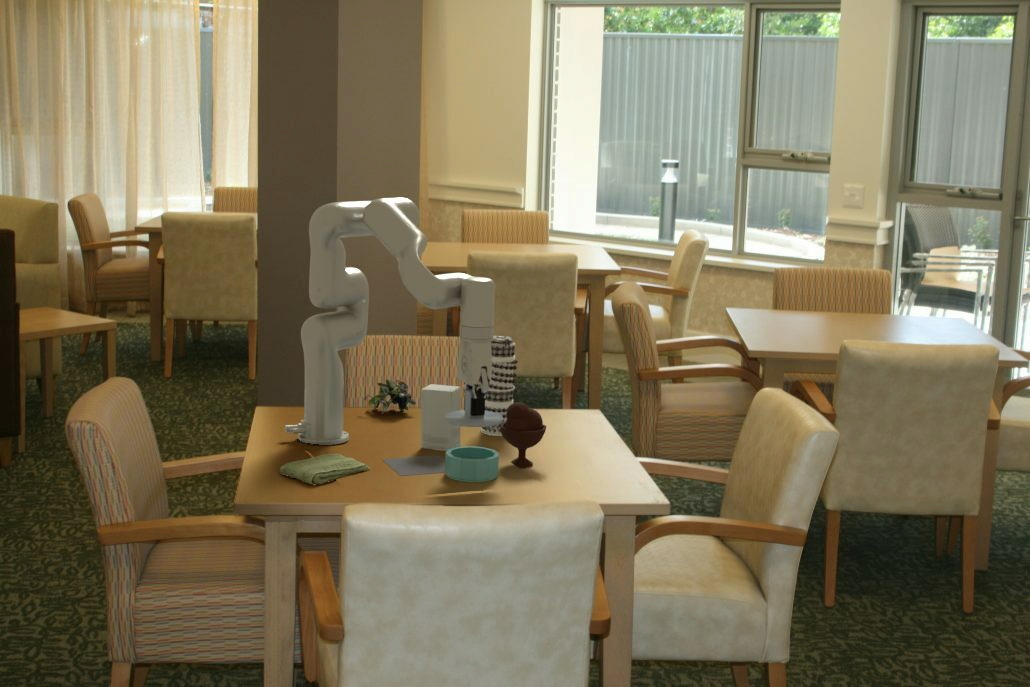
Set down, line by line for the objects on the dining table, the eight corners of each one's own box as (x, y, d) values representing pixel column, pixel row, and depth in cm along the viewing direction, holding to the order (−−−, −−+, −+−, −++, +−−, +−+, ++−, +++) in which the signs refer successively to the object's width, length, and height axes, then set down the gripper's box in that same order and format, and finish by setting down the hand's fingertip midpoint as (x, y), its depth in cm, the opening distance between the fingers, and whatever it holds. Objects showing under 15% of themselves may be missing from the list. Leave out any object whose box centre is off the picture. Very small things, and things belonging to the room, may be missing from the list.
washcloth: (373, 474, 288) (373, 460, 287) (313, 489, 275) (313, 475, 274) (335, 462, 296) (335, 448, 296) (275, 476, 283) (275, 462, 283)
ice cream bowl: (512, 473, 291) (515, 410, 289) (491, 460, 301) (493, 399, 298) (552, 468, 296) (555, 406, 293) (530, 456, 306) (532, 396, 303)
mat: (400, 478, 284) (400, 475, 284) (381, 461, 296) (381, 459, 296) (458, 473, 289) (458, 471, 289) (438, 457, 302) (438, 455, 302)
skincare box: (460, 448, 311) (462, 386, 308) (450, 454, 305) (452, 391, 302) (429, 444, 314) (431, 382, 311) (418, 450, 308) (420, 387, 305)
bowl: (456, 486, 280) (457, 462, 279) (438, 471, 290) (439, 448, 289) (505, 481, 284) (506, 458, 283) (486, 467, 295) (486, 444, 294)
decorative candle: (508, 438, 322) (512, 341, 318) (474, 433, 325) (477, 338, 321) (519, 430, 331) (523, 336, 326) (486, 426, 334) (489, 332, 329)
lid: (457, 428, 276) (458, 398, 275) (437, 415, 288) (437, 386, 287) (511, 425, 282) (512, 395, 280) (490, 411, 293) (490, 383, 292)
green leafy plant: (400, 430, 347) (425, 398, 344) (377, 430, 338) (402, 398, 334) (376, 402, 352) (401, 370, 348) (352, 401, 342) (378, 369, 339)
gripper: (448, 327, 287) (446, 406, 291) (474, 340, 272) (472, 422, 276) (478, 326, 290) (476, 404, 293) (506, 338, 275) (503, 420, 279)
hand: (474, 412), depth 285 cm, fingers closed on lid, 3 cm apart
